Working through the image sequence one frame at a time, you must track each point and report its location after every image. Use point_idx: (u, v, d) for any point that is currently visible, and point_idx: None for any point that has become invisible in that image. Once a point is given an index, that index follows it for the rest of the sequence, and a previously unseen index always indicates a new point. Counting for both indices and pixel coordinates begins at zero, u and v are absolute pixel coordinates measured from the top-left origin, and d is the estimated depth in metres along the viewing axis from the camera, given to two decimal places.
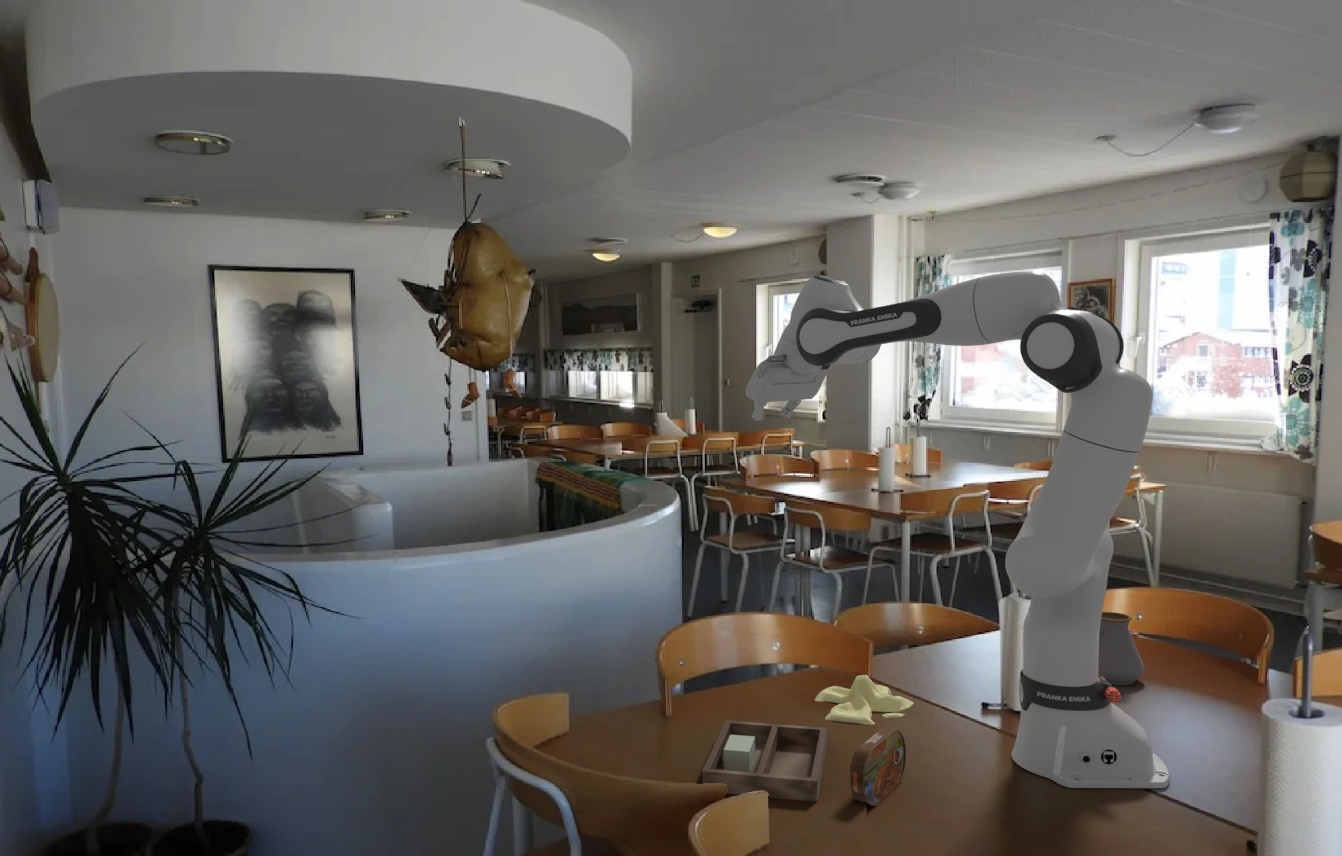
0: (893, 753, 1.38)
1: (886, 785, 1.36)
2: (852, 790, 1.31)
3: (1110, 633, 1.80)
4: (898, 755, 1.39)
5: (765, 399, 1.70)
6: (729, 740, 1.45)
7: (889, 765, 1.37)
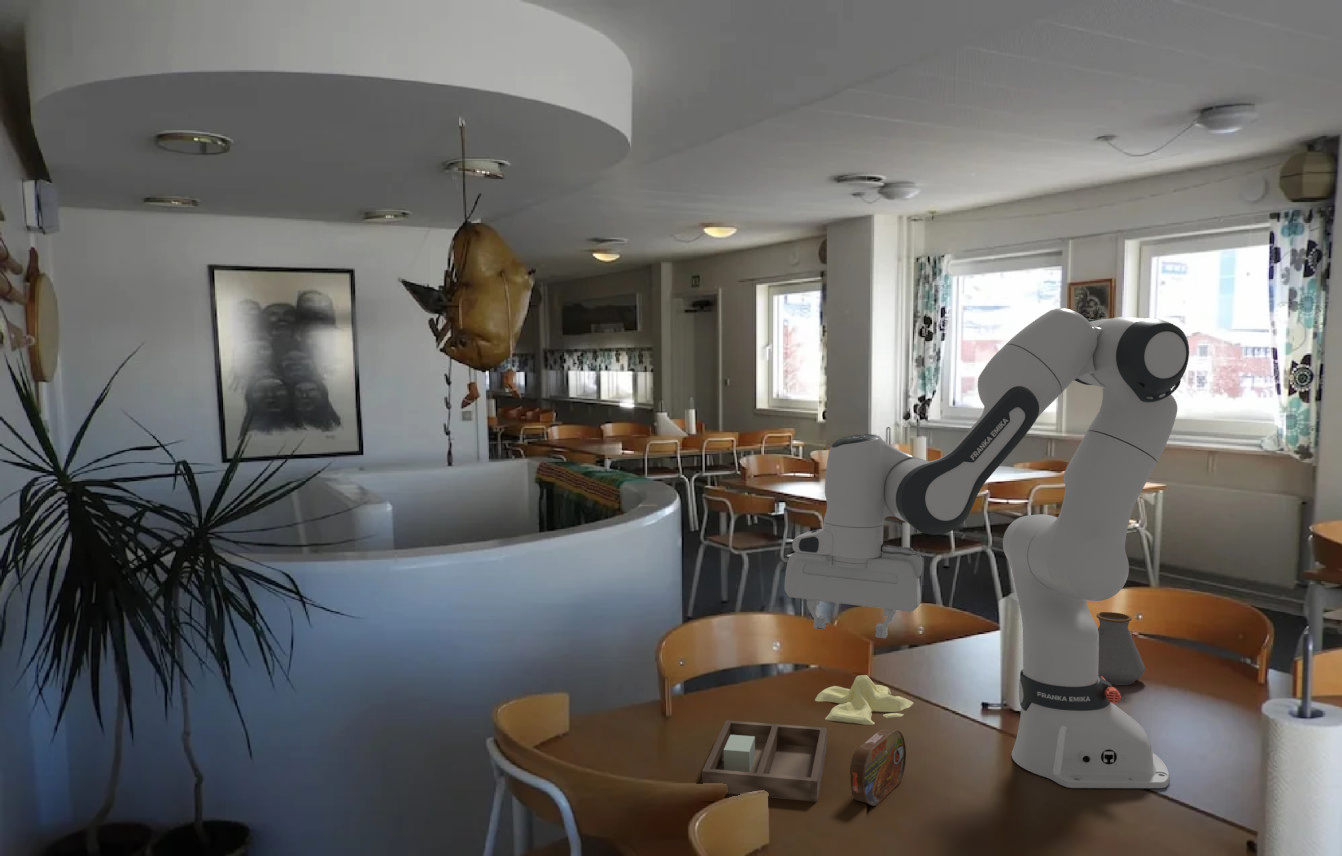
0: (893, 753, 1.38)
1: (886, 785, 1.36)
2: (852, 790, 1.31)
3: (1110, 633, 1.80)
4: (898, 755, 1.39)
5: None
6: (729, 740, 1.45)
7: (890, 765, 1.37)
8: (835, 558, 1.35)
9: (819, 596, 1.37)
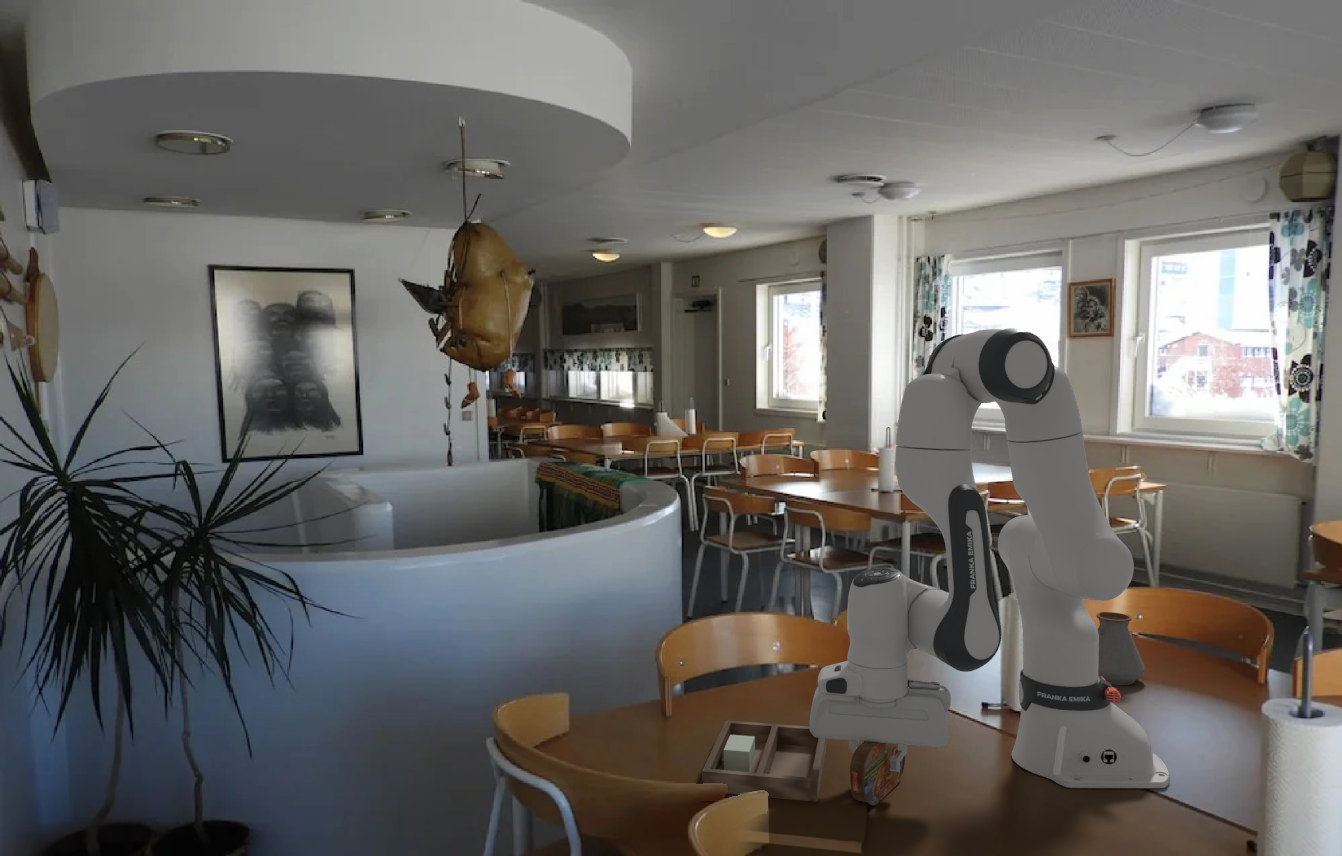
0: (892, 752, 1.38)
1: (886, 784, 1.36)
2: (852, 790, 1.31)
3: (1110, 633, 1.80)
4: None
5: None
6: (729, 740, 1.45)
7: (889, 764, 1.37)
8: (863, 698, 1.33)
9: (847, 736, 1.35)
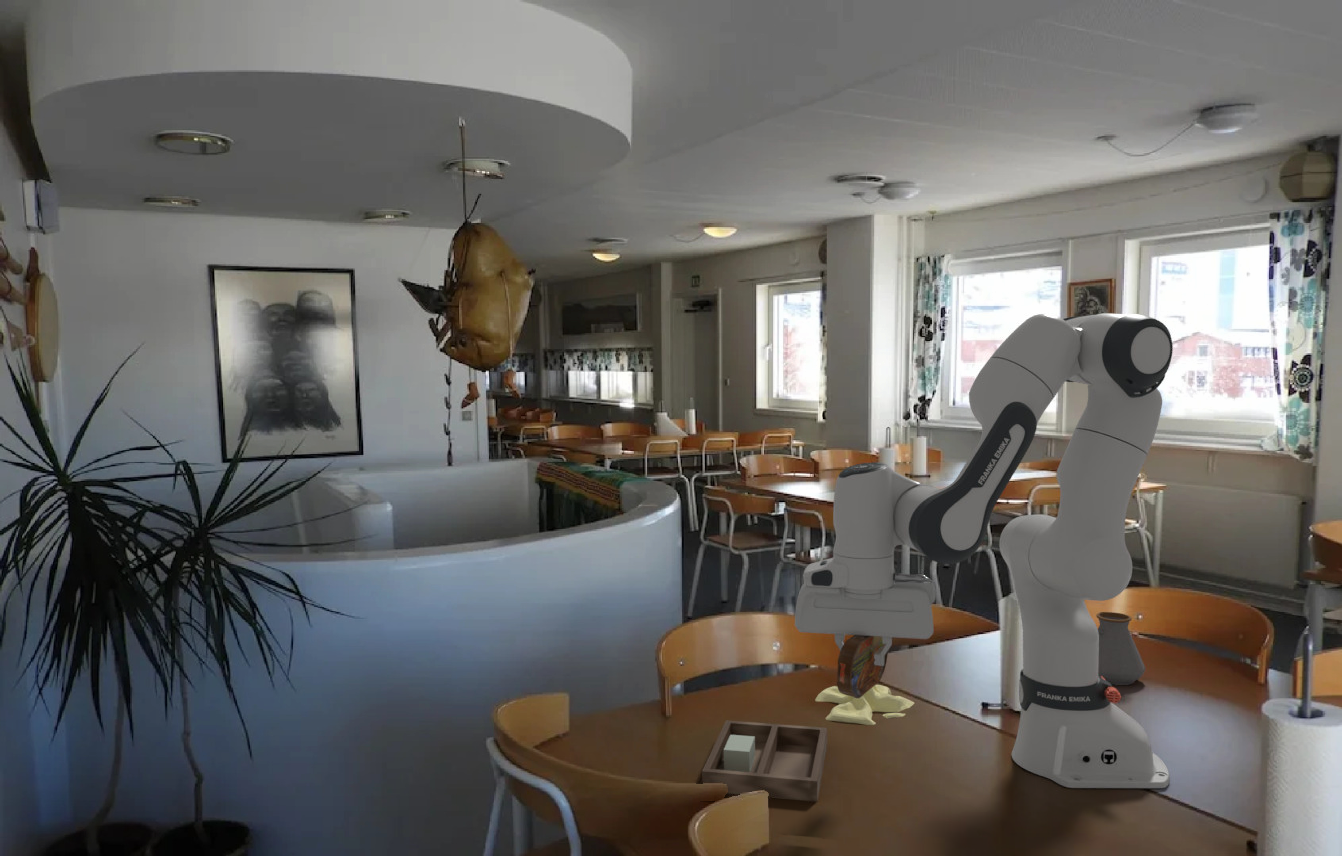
0: None
1: (868, 681, 1.36)
2: (838, 681, 1.30)
3: (1110, 633, 1.80)
4: None
5: None
6: (729, 740, 1.45)
7: (873, 662, 1.37)
8: (849, 590, 1.33)
9: (832, 629, 1.35)
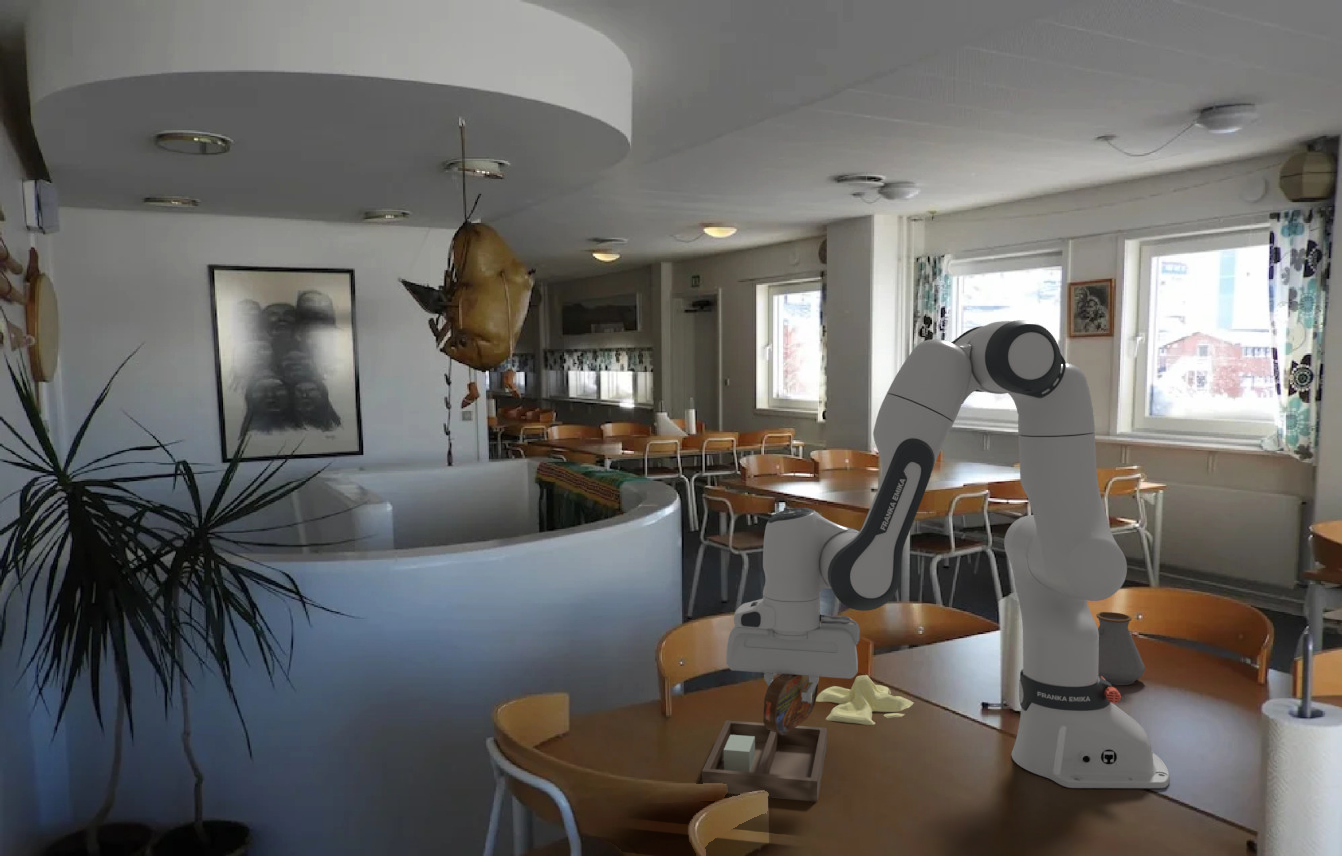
0: (806, 688, 1.44)
1: (796, 717, 1.42)
2: (764, 718, 1.36)
3: (1110, 633, 1.80)
4: None
5: None
6: (729, 740, 1.45)
7: (801, 699, 1.43)
8: (776, 631, 1.39)
9: (761, 668, 1.40)
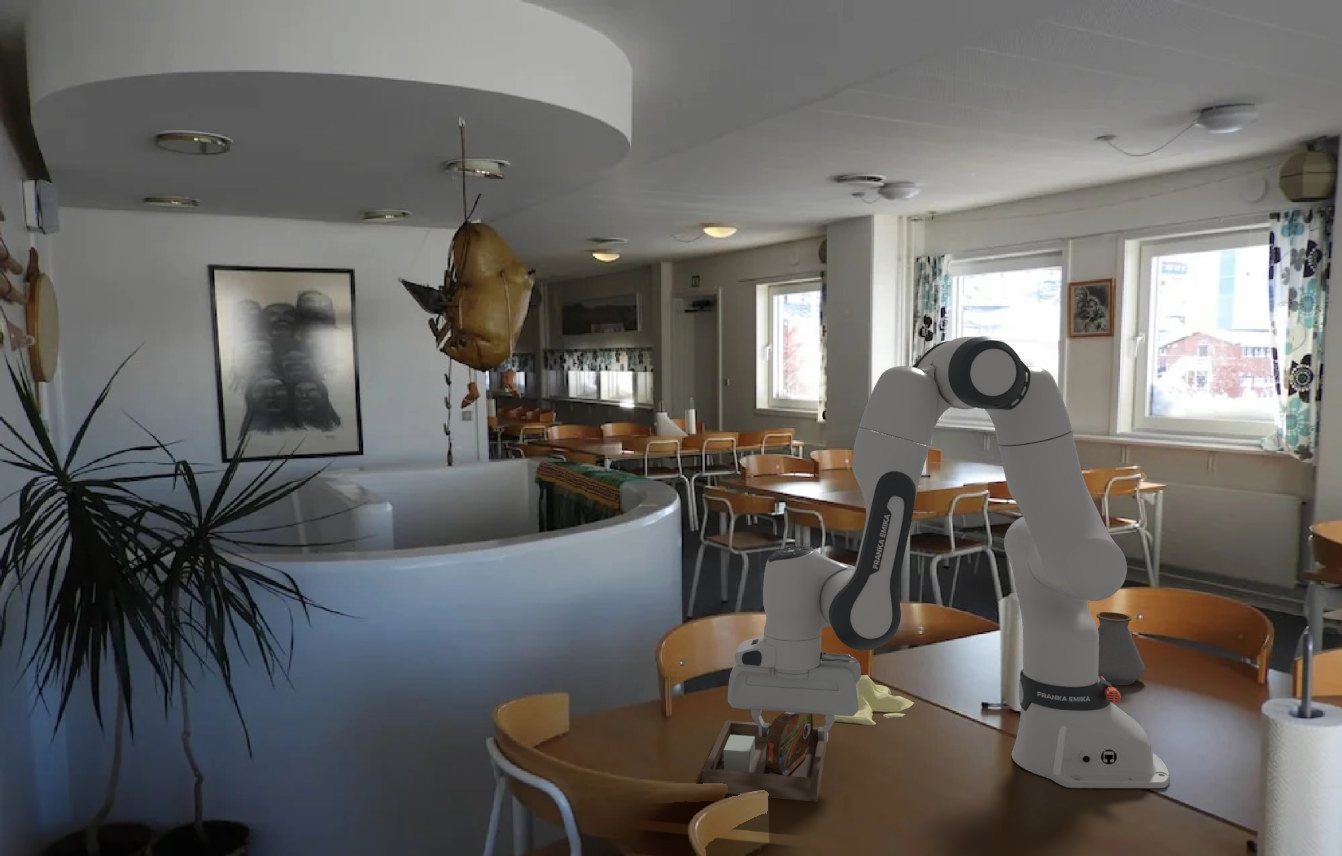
0: (803, 728, 1.45)
1: (795, 758, 1.42)
2: (767, 760, 1.36)
3: (1110, 633, 1.80)
4: (806, 731, 1.46)
5: None
6: (729, 740, 1.45)
7: (799, 739, 1.44)
8: (778, 669, 1.39)
9: (763, 706, 1.41)
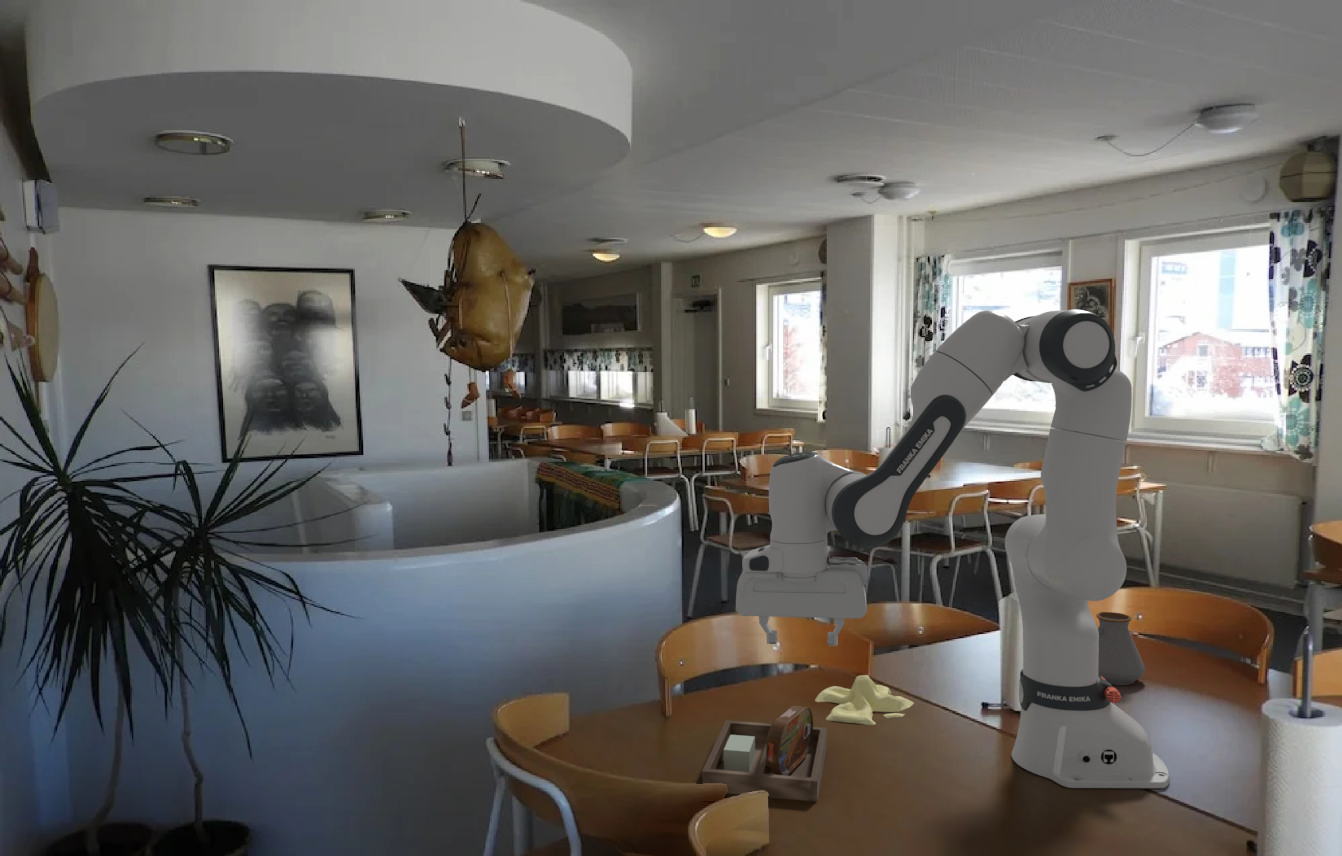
0: (803, 728, 1.45)
1: (795, 758, 1.42)
2: (767, 760, 1.36)
3: (1110, 633, 1.80)
4: (806, 731, 1.46)
5: None
6: (729, 740, 1.45)
7: (799, 739, 1.44)
8: (785, 574, 1.39)
9: (771, 612, 1.41)
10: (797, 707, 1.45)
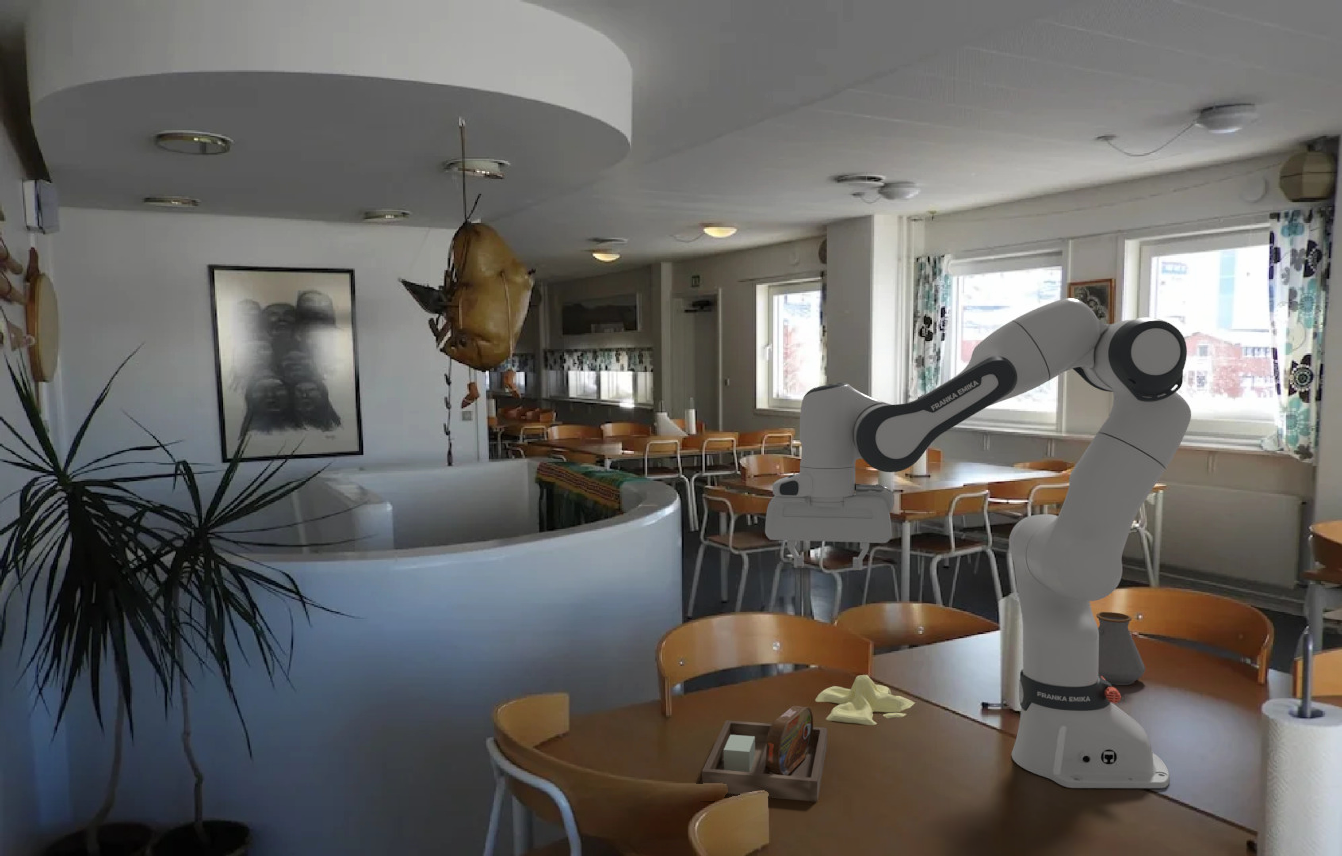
0: (803, 728, 1.45)
1: (795, 758, 1.42)
2: (767, 760, 1.36)
3: (1110, 633, 1.80)
4: (806, 731, 1.46)
5: None
6: (729, 740, 1.45)
7: (799, 739, 1.44)
8: (814, 499, 1.45)
9: (799, 536, 1.47)
10: (797, 707, 1.45)
